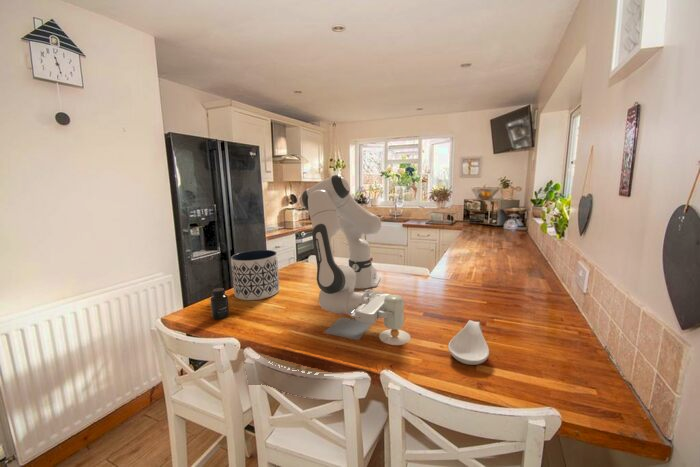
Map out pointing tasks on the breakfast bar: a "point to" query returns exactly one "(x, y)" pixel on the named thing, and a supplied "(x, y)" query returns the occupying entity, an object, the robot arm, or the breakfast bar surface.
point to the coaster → (391, 340)
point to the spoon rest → (469, 345)
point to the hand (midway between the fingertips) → (396, 310)
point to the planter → (255, 274)
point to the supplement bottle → (219, 304)
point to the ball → (394, 332)
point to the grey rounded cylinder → (394, 311)
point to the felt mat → (348, 328)
